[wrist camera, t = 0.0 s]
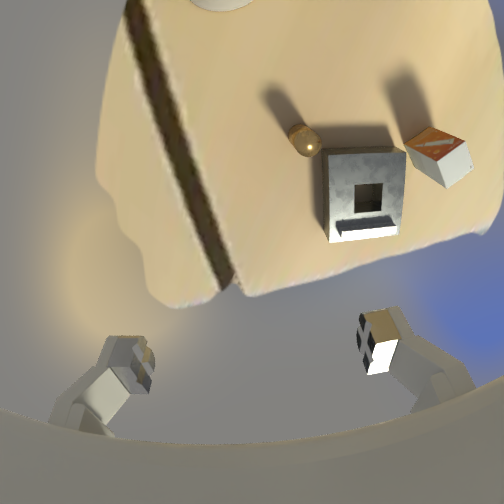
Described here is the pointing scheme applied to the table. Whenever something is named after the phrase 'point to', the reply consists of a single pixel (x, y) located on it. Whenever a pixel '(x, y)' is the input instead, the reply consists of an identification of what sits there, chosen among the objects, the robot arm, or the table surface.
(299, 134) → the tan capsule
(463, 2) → the table surface
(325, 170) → the jig
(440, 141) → the small box
